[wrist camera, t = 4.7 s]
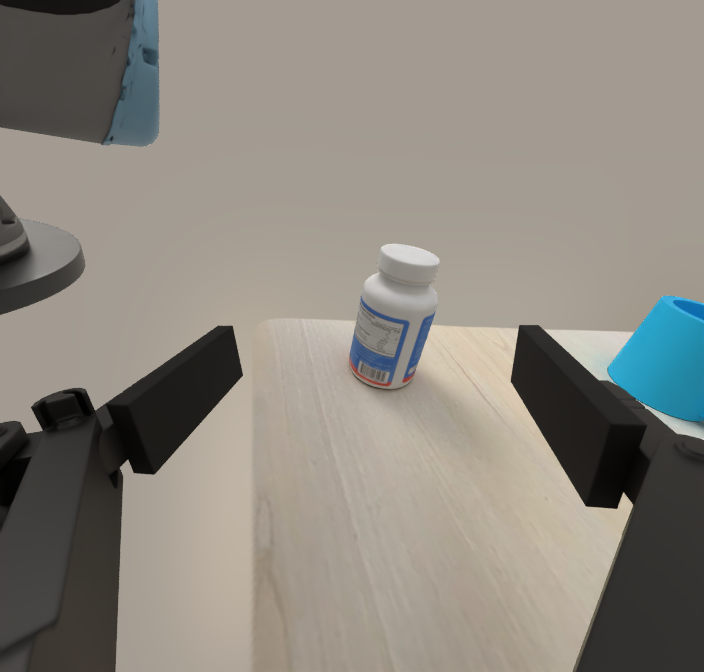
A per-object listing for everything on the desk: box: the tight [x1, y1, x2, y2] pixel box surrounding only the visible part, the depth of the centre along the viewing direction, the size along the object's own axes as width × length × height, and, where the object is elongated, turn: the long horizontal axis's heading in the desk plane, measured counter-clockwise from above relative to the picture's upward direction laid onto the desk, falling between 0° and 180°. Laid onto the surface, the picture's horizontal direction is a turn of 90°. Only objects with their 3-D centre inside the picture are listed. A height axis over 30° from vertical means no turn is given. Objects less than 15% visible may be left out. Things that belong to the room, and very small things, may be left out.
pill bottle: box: [349, 244, 440, 389], centre depth 24 cm, size 6×5×10 cm
